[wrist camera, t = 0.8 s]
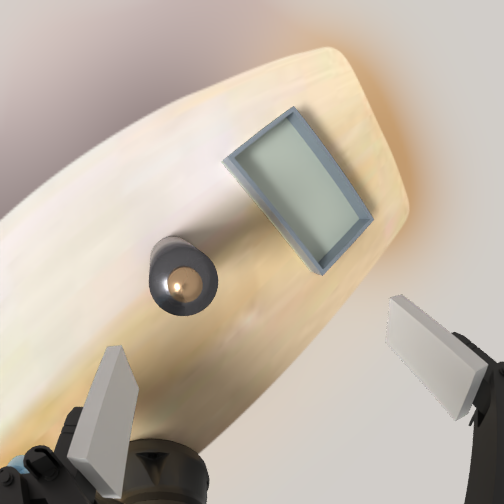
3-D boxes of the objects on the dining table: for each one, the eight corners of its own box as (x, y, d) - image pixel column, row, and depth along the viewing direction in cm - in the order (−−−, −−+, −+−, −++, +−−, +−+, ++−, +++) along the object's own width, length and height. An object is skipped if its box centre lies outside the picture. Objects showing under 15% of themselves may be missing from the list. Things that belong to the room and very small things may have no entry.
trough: (310, 271, 38) (322, 275, 36) (221, 161, 33) (227, 157, 31) (360, 218, 40) (374, 219, 37) (283, 113, 35) (293, 105, 32)
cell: (172, 291, 33) (184, 334, 21) (140, 258, 32) (133, 284, 20) (205, 260, 34) (235, 285, 22) (174, 226, 33) (187, 233, 20)
